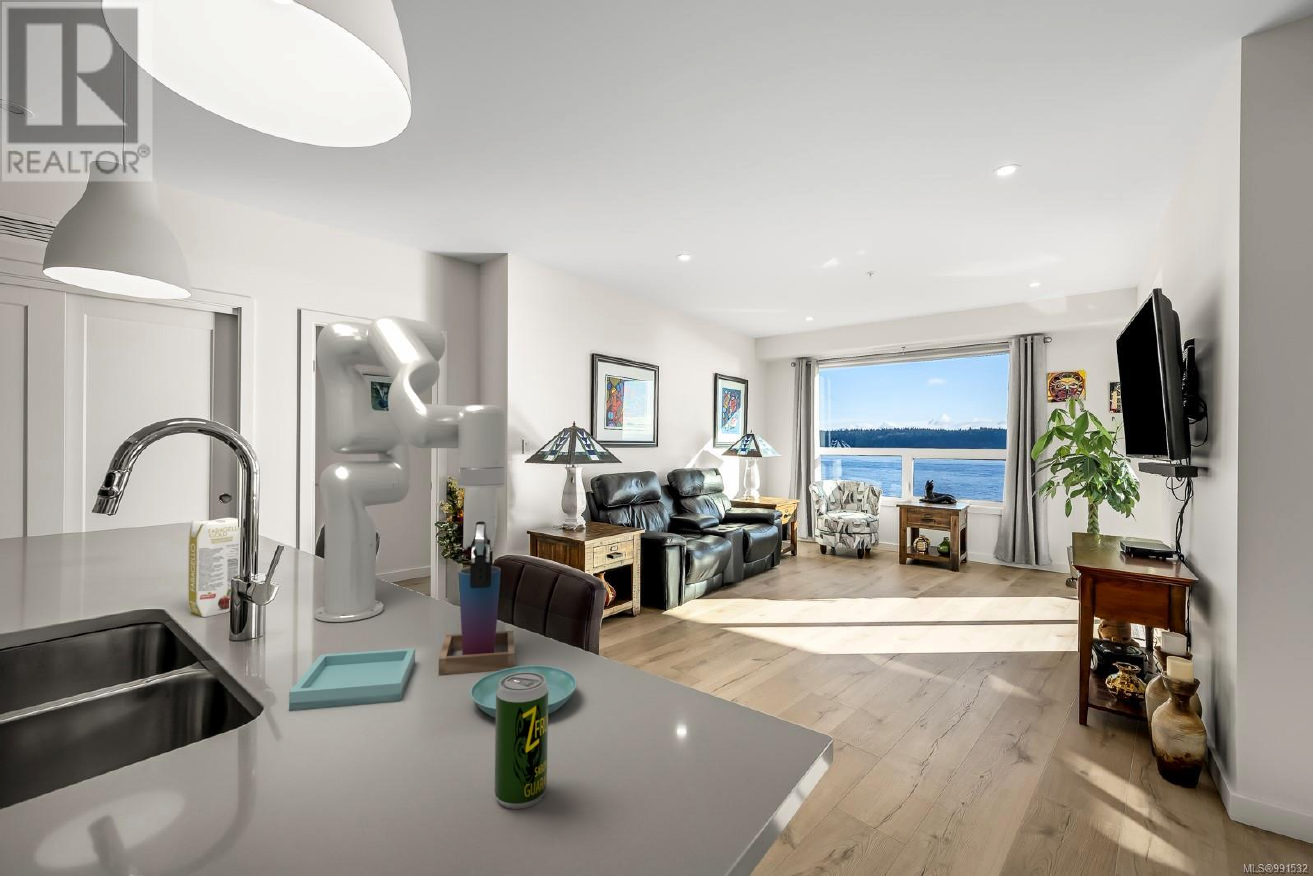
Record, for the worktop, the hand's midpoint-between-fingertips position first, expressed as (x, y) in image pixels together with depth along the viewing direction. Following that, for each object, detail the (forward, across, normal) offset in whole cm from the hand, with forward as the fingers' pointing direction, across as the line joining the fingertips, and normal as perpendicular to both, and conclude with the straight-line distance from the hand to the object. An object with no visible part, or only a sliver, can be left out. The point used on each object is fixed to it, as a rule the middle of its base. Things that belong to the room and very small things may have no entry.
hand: (481, 580), depth 99 cm
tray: (+13, +6, -18) cm, 23 cm away
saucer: (+14, +17, +6) cm, 23 cm away
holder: (+13, -1, -1) cm, 13 cm away
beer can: (+14, +39, +5) cm, 42 cm away
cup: (+13, -1, -1) cm, 13 cm away
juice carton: (+12, -39, -55) cm, 68 cm away
